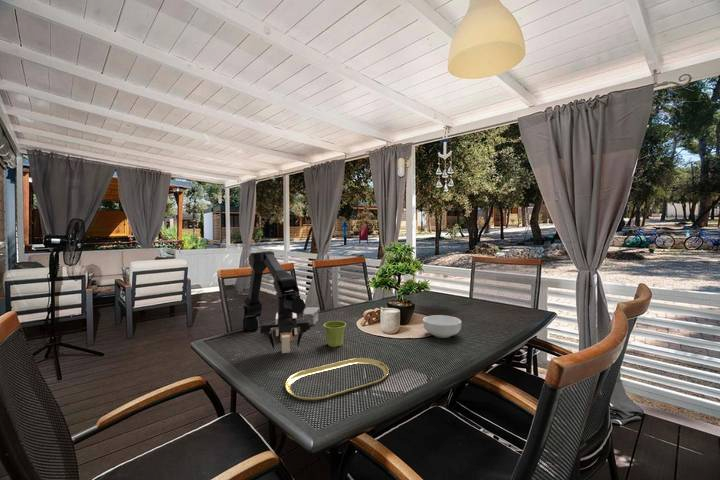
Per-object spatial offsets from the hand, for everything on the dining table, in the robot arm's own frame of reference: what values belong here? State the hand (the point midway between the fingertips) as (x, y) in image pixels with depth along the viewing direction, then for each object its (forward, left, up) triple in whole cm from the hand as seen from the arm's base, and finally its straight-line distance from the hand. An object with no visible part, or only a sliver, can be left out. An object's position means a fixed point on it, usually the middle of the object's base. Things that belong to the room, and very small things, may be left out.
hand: (285, 347), depth 125 cm
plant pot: (+20, +3, -2) cm, 20 cm away
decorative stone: (+12, +37, -2) cm, 39 cm away
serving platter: (+17, -27, -2) cm, 32 cm away
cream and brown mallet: (0, +8, -2) cm, 8 cm away
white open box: (0, +24, -2) cm, 24 cm away
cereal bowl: (+69, +4, -2) cm, 69 cm away
